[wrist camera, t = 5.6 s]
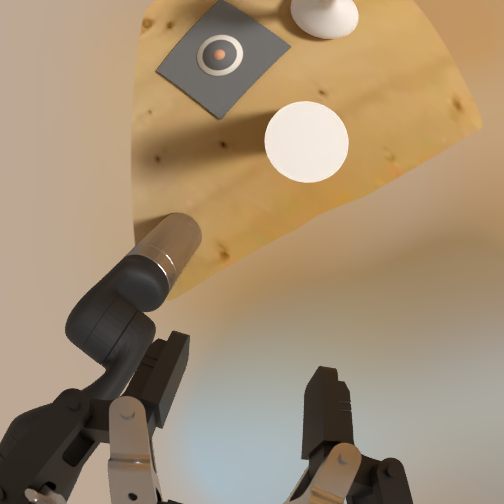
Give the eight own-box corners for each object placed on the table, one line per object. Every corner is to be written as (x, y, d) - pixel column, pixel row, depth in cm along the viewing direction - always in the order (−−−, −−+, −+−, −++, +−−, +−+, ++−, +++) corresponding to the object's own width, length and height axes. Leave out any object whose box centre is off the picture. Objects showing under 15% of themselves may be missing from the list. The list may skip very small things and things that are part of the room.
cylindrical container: (269, 126, 44) (247, 140, 23) (299, 99, 41) (307, 84, 20) (298, 156, 46) (304, 198, 24) (329, 129, 43) (364, 147, 21)
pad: (220, 119, 45) (219, 119, 44) (157, 70, 41) (155, 70, 40) (290, 47, 37) (290, 45, 36) (221, 0, 33) (220, -2, 32)
